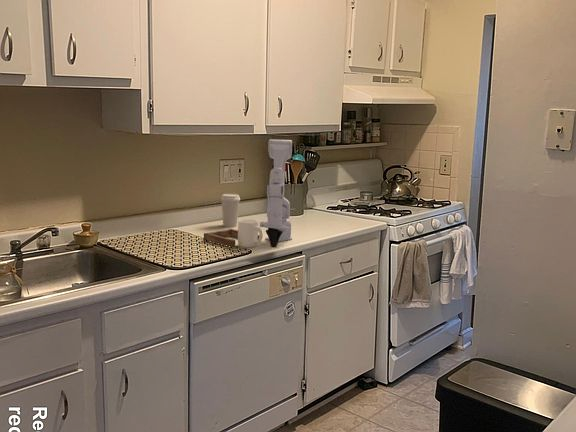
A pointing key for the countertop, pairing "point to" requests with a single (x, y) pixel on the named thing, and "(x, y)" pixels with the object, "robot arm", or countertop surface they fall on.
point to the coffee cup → (230, 209)
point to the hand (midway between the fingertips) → (273, 247)
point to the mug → (249, 233)
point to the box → (222, 237)
